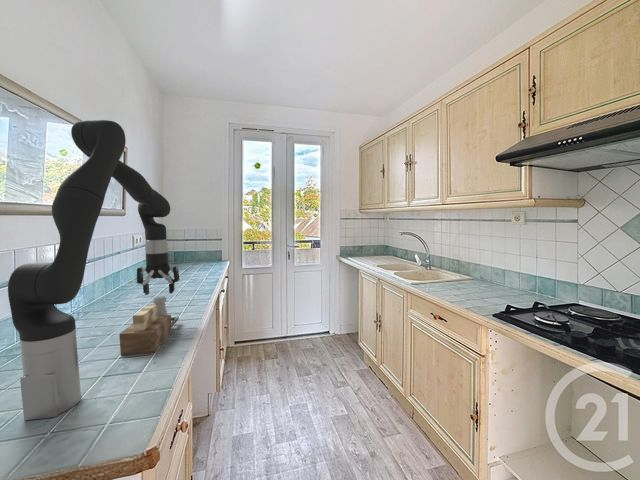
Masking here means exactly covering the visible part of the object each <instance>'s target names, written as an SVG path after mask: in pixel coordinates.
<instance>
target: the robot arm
mask: <svg viewBox="0 0 640 480" xmlns="http://www.w3.org/2000/svg"><path fill="white" fill-rule="evenodd" d="M70 135H71V138H72V141H73V143H74V144H75V146H76V147H77V148H78V149H79V150H80V152H81V153H83V154H84V155H85V156H86V157H88V158H87V160H86V161H84V163H83V164H81V165H79V167H78V168H76V169H74V171H73V172H71V173H70V174H69V175H67V177H66V178H65V179H64V180H63V181H62V182H61V184H60V185H59V187H58V189H57V192H56V194H55V197H54V200H53V202H52V205H51V214H52V218H53V221H54V224H55V227H56V228H57V231H58V234H59V244H58V245H59V246H58V248H57V252H56V255H55V257H54V260H53V261H52V262H32V263H31V262H30V263H25V264H22V265H20V266H18V267H17V268H15V269H14V270H13V271H12V273H11V274H10V277H9V279H8V285H7V296H8V302H9V308H10V313H11V318H12V324H13V327H14V328H15V330H16V331H17V332H18V334H19V341H20V357H21V365H22V375H23V376H21V377H20V379H19V380H20V393H21V401H22V402H21V403H22V411H23V420H24V421H30V420H39V419H47V418H56V417H58V416H59V415H61V414H62V413H64V412H66V411H68V410H70V409H72V408H73V407H74V406H76V405H77V404H79V402H80V401H81V399H82V391H81V390H82V389H81V378H80V367H79V356H78V355H79V354H78V353H79V351H78V344H77V343H78V341H77V329H76V327H77V325H76V318H75V316H73V315H71V314H68V312H67V313H66V312H63V311H62V310H60V309H59V308H57V306H56V305H63V304H65V305H66V304H67V303H70V302H71V301H72V300H73V299H75V298H76V296H77V295H78V293H79V292H80V289H81V287H82V284H83V280H84V276H85V271H86V265H87V260H88V254H89V249H90V245H91V241H92V238H93V235H94V232H95V228H96V225H97V221H98V219H99V216H100V214H101V211H102V208H103V205H104V202H105V197H106V194H107V192H108V191H107V190H108V188H109V185H110V183H111V180H112V178H113V179H114V180H115V181H116V182H118V183H119V184H120V185H121V187H122V188H123V189H124V190H125V191H126V192H127V193H128V195H129V196H130V197H131V199H133V200H134V201H135V202H137V203H138V204H137V212H138V215H139V218H140V220H141V222H142V226H143V229H144V237H145V243H144V251H145V266H146V267H142V266H140V267H137V268H136V284H137V285H139V284H140V285H142V289H143V290H142V291H143V294H144V295H145V296H147V295H149V294H150V284H149V282H150V281H151V280H153V279H164V280H165V281H167V283H169V284H168V290H169V293H168V294H169V295H170V294H171V295H172V294H173V293H174V291H175V289H176V288H175V283H177V282H179V281H180V271H179V266H178V265H174V266H170V265H169V264H170V261H169V244H168V240H167V239H168V238H167V237H168V236H167V227H166V225H165V224H162V223H158V222H156V221H155V218H166V217H167V216H169V214H171V205H170V202H169V201H168V200H167V198H166V197H164V196H163V195H162V194H160V193H159V192H158V191H156V190H155V189H153V187H152V186H151V185H150V184H149V182H148V180H147V179H146V178H145V177H144V176H143V175H142V174H141V173H140V172H139V171H137V170H136V169H134V168H132V167H131V166H129V165H128V164H126V163H125V162H123V161H121V157H122V155H123V153H124V151H125V147H126V134H125V131H124V128H123V127H122V125H120V124H119V123H117V122H115V121H114V120H110V119H109V120H107V119H100V120H99V119H98V120H97V119H95V120H81V121H79V120H78V121H75V122H74V124H73V125H72V126H71V130H70ZM170 271H171V272H172V275H173V276H172V275H171V274H170V273H169V272H170ZM145 272H146V273H147V276H146V277H145V279H144V274H145Z"/></svg>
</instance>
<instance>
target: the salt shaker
mask: <svg viewBox="0 0 640 480" xmlns="http://www.w3.org/2000/svg"><path fill="white" fill-rule="evenodd" d="M152 302H153V303H154V304H157V309H158V315H169V314H168V311H167V307H166V302H167V297H166V296H164V295H160V296H155V297H154V298H153V301H152ZM154 304H153V305H154Z"/></svg>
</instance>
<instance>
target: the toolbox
mask: <svg viewBox="0 0 640 480" xmlns="http://www.w3.org/2000/svg"><path fill="white" fill-rule="evenodd" d="M171 331H172V330H171V329H170V319H169V320H168V321H167V322H166V323H165V324H164V325H163V326H162V327H161V328H160V329H159V330H158V331H157V332H156V333H155V334H153V335H140V336H126V337H120V336H119V349H120V351H119V352H120V356H129V355H131V356H132V355H143V354H144V355H145V354H154V353H156V352H157V351H158V350H159V348H161V346H162V345H163V344H164V343H165V341H166V340H167V339H168V338H169V337H170V336H171Z"/></svg>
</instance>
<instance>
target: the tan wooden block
mask: <svg viewBox="0 0 640 480" xmlns="http://www.w3.org/2000/svg"><path fill="white" fill-rule="evenodd" d="M169 319H170V330H171V329H172V328H173V327H174V326H175V324H177V322H178V321H179V319H180V316H173V317H172V314H168V315H158V309H157V304H148V305H146V306H145V307H143V308H141V310H139V311H138V312H136V313H135V314H133V315H132V323H131V324H130V325H129V326H127V328H125V329H123V330H122V331H121V332H119V335H118V336H119V338H120V337H126V336H140V335H153V334H155V333H156V332H157V331H158V330H159V329H160V328H161V327H162V326H163V325H164V324H165V323H166V322H167V321H168V320H169Z"/></svg>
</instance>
